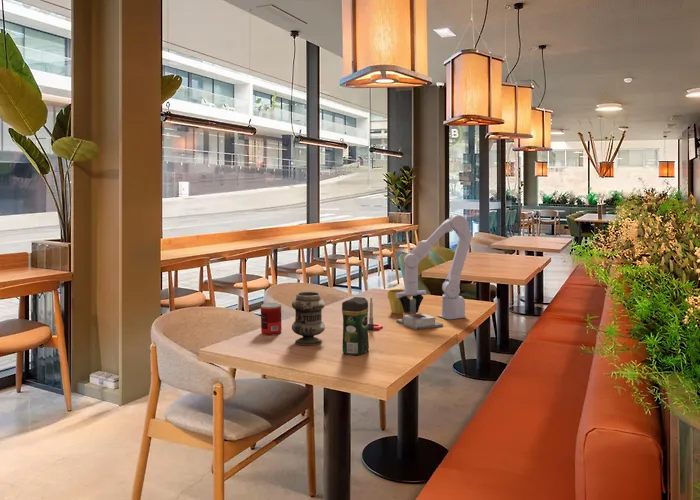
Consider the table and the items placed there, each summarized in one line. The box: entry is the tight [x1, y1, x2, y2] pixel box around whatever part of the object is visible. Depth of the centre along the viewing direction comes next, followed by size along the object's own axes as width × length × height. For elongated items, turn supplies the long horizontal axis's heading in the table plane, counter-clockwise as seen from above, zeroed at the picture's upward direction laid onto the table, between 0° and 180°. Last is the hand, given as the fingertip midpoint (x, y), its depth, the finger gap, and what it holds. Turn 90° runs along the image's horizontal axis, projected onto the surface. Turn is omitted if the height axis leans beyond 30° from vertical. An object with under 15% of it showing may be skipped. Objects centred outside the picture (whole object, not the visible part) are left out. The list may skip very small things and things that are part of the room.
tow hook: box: [368, 297, 383, 331], centre depth 228 cm, size 8×13×9 cm
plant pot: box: [387, 288, 412, 315], centre depth 256 cm, size 10×10×10 cm
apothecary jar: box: [291, 290, 326, 347], centre depth 206 cm, size 12×12×18 cm
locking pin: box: [408, 297, 417, 314], centre depth 246 cm, size 3×3×8 cm
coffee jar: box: [341, 296, 370, 356], centre depth 193 cm, size 10×8×19 cm
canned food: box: [260, 302, 283, 336], centre depth 220 cm, size 8×8×11 cm
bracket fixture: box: [395, 312, 444, 331], centre depth 233 cm, size 12×16×4 cm
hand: (411, 312), depth 246 cm, fingers open, 4 cm apart
